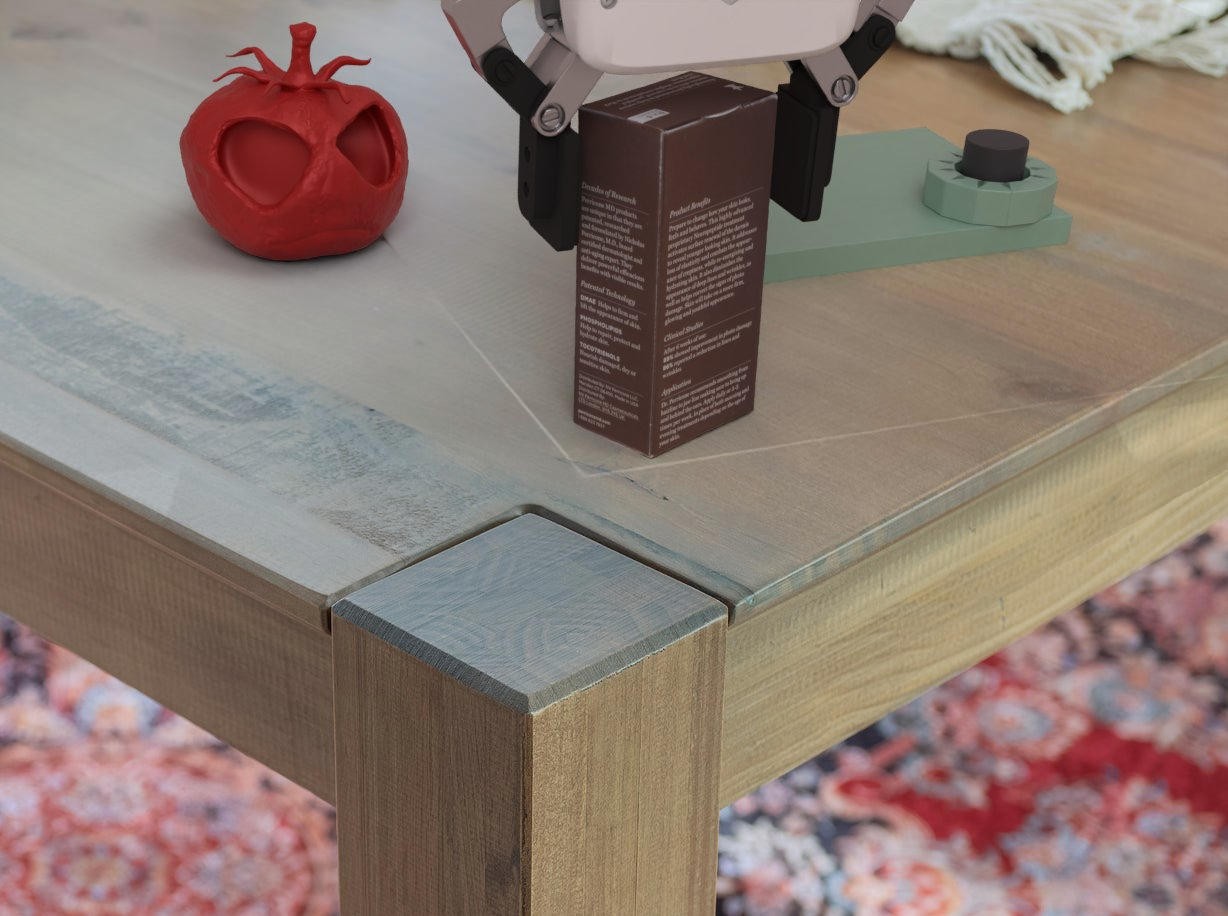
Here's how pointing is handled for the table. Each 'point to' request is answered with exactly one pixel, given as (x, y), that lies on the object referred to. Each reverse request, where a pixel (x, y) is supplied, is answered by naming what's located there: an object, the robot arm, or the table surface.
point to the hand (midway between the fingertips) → (673, 222)
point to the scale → (911, 210)
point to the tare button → (994, 155)
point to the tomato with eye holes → (296, 157)
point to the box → (671, 258)
